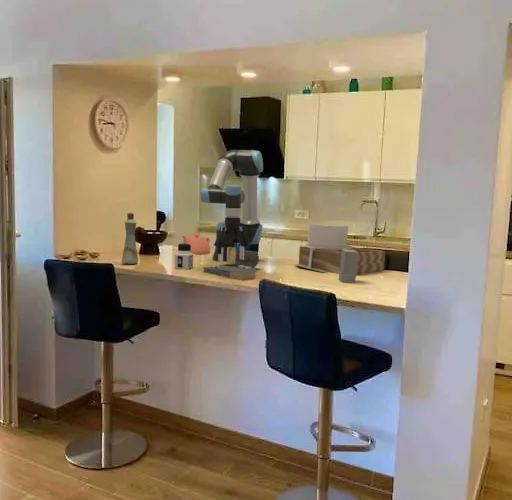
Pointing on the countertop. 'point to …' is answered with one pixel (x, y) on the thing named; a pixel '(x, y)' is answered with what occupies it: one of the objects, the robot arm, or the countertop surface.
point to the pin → (231, 256)
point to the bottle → (130, 241)
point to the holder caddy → (332, 259)
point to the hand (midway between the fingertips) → (231, 260)
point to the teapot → (198, 244)
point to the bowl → (248, 258)
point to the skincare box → (348, 266)
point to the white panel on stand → (326, 240)
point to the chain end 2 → (239, 271)
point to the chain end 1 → (216, 271)
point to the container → (184, 257)
